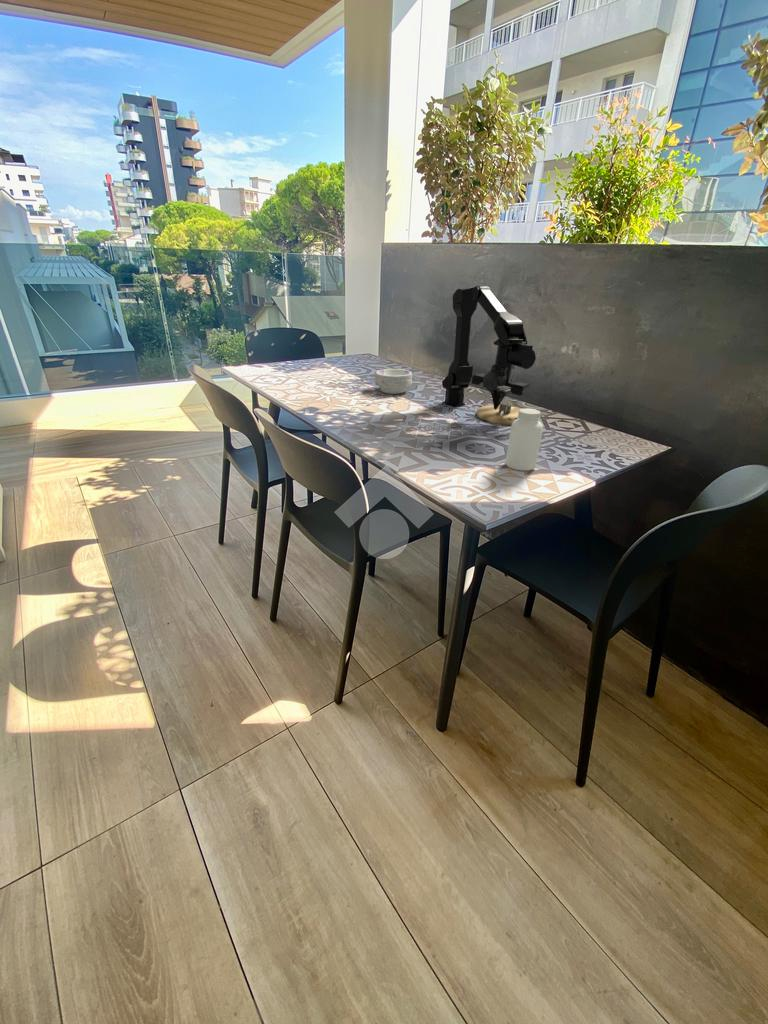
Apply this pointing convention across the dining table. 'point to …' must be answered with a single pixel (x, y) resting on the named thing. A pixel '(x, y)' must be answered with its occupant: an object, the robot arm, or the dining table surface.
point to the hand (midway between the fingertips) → (495, 409)
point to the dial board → (497, 415)
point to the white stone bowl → (393, 380)
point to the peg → (505, 406)
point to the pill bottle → (524, 440)
